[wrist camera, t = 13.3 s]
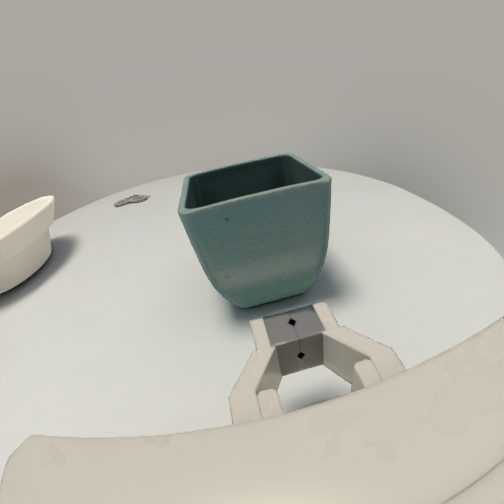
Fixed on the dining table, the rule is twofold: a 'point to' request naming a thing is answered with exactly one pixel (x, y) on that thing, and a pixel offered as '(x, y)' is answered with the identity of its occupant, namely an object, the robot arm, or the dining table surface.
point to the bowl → (25, 241)
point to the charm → (131, 199)
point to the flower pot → (259, 226)
